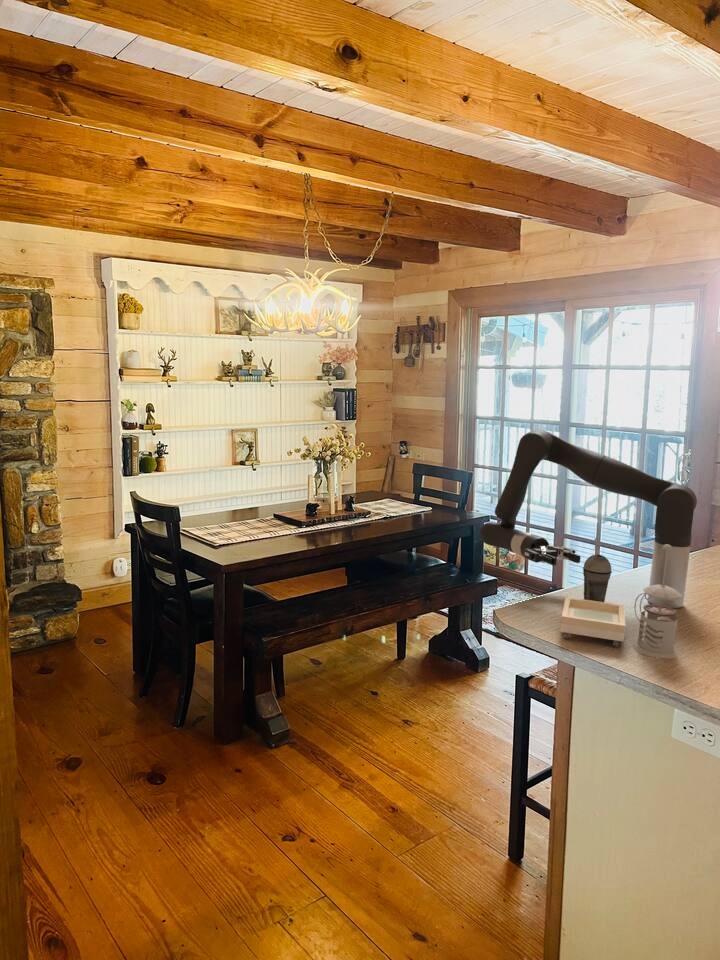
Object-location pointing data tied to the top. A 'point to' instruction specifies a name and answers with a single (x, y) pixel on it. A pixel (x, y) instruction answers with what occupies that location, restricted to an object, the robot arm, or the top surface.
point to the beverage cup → (596, 576)
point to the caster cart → (593, 619)
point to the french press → (658, 622)
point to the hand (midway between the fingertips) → (567, 560)
